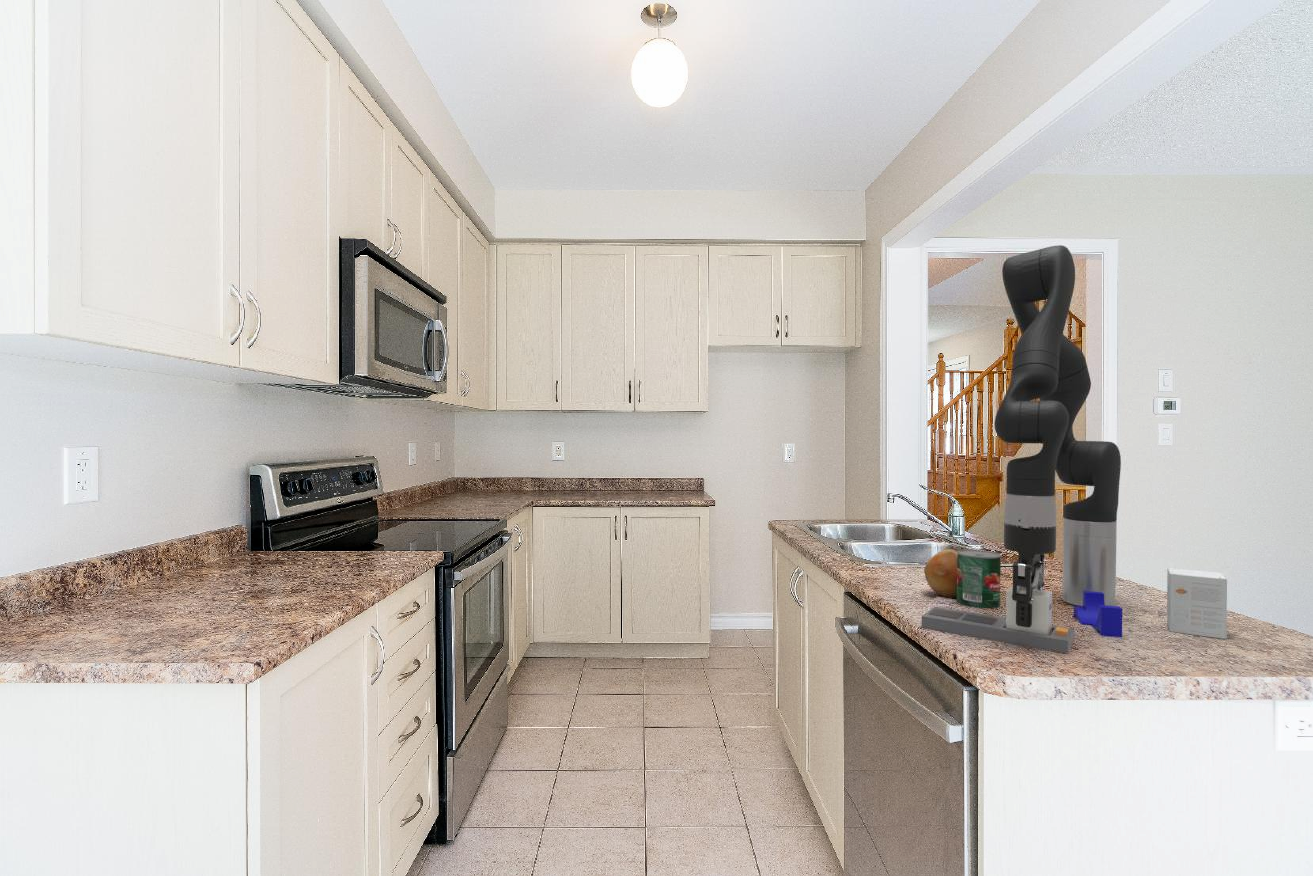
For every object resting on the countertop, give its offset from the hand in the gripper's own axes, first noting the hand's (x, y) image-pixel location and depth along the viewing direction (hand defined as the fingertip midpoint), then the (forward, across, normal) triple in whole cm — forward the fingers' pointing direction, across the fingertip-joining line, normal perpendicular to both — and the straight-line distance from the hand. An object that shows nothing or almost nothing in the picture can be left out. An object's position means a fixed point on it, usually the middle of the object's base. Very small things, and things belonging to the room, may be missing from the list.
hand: (1028, 620), depth 111 cm
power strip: (+4, 0, -5) cm, 6 cm away
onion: (+4, -26, -19) cm, 33 cm away
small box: (+4, -27, +22) cm, 35 cm away
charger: (+3, 0, 0) cm, 3 cm away
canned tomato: (+4, -20, -12) cm, 24 cm away
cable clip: (+5, -16, +8) cm, 19 cm away
